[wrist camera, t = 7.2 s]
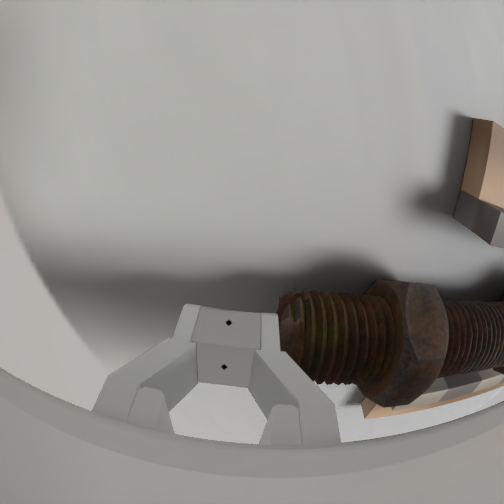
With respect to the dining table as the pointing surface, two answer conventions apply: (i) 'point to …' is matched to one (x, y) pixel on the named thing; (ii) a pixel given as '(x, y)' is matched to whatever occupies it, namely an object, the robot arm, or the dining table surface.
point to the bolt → (390, 338)
